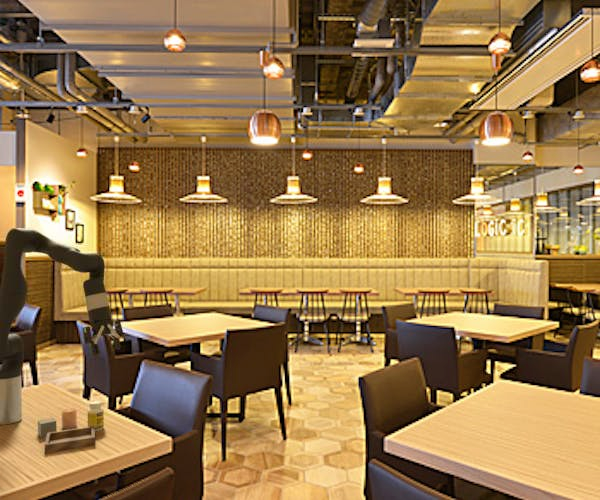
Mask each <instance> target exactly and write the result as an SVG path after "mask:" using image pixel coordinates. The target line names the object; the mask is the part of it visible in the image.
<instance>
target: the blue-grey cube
mask: <svg viewBox="0 0 600 500" xmlns="http://www.w3.org/2000/svg"><path fill="white" fill-rule="evenodd" d="M56 431H58V430H57V420H56V418H54V417H48V418H44V419H43V418H42V419H39V420H37V435H38V436H39V437H40V439H43V438H46V436H47V433H49V432H56Z"/></svg>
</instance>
